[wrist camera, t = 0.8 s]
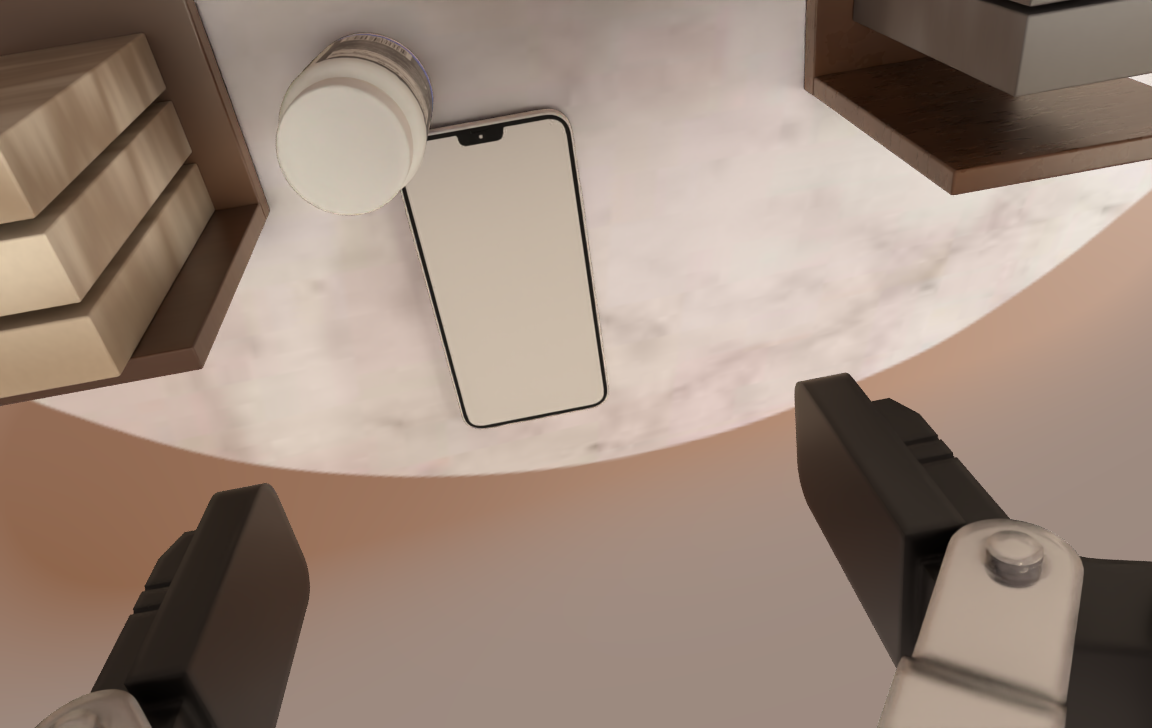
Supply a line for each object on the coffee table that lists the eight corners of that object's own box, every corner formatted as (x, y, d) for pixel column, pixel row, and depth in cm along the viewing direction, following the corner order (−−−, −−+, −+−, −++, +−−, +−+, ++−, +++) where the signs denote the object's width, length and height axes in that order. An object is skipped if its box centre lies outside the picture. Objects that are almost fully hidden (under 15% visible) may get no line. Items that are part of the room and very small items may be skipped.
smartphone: (465, 433, 41) (385, 141, 33) (465, 425, 42) (386, 136, 33) (612, 405, 41) (570, 108, 33) (609, 397, 42) (568, 103, 33)
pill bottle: (367, 178, 34) (336, 257, 27) (283, 81, 32) (225, 137, 24) (459, 109, 33) (453, 171, 26) (379, 3, 31) (348, 38, 23)
